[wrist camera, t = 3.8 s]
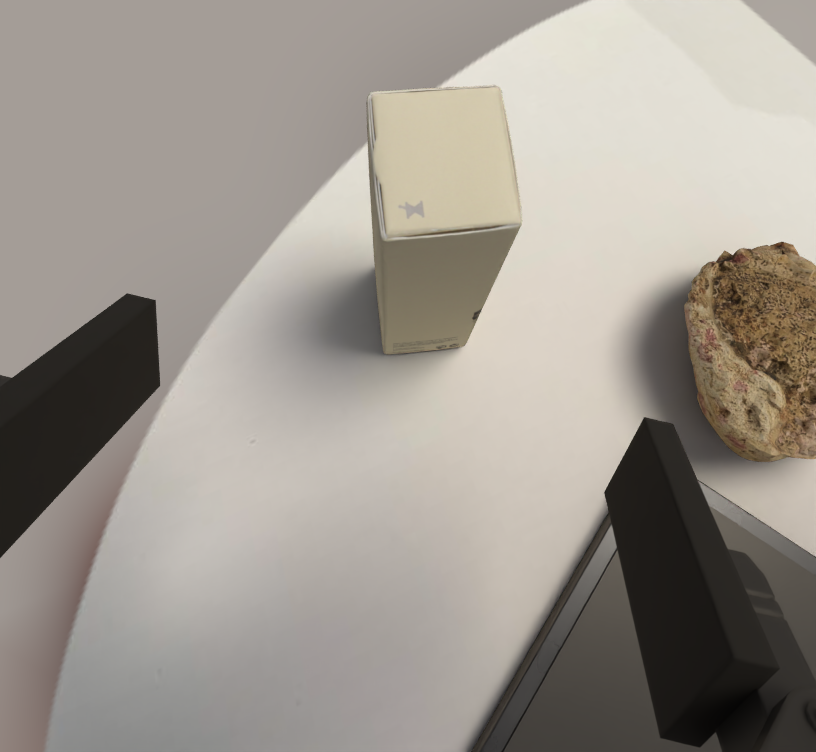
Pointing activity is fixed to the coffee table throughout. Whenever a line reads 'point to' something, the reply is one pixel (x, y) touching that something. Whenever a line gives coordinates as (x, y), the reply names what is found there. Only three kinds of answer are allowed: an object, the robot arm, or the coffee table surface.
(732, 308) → the tan rough lump
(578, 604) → the tablet
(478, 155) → the box
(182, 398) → the coffee table surface
